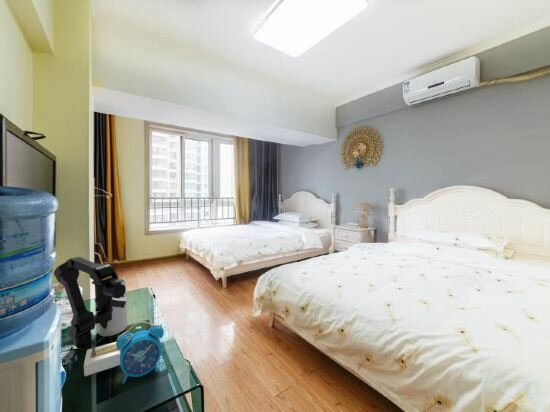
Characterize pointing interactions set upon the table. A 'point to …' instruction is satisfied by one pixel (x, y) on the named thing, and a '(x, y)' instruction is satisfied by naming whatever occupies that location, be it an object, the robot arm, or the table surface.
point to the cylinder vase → (116, 319)
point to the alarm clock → (140, 350)
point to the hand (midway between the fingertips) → (105, 328)
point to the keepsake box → (100, 360)
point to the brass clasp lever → (106, 349)
